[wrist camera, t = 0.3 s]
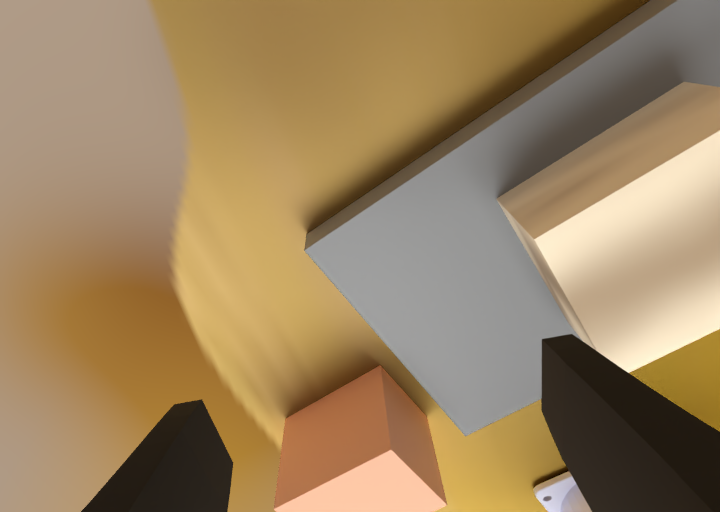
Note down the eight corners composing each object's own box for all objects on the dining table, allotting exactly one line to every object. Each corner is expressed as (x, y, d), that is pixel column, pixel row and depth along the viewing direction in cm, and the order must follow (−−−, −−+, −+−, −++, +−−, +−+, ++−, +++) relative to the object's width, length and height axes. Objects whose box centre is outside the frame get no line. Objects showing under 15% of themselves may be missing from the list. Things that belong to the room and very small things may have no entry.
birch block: (731, 236, 17) (818, 281, 14) (568, 322, 19) (613, 380, 16) (683, 81, 14) (778, 95, 11) (496, 198, 16) (534, 239, 13)
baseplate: (839, 218, 19) (877, 232, 18) (458, 412, 23) (465, 436, 22) (786, -93, 14) (834, -105, 12) (306, 234, 18) (304, 250, 17)
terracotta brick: (426, 415, 23) (447, 505, 19) (336, 461, 25) (336, 555, 20) (379, 363, 22) (390, 449, 17) (285, 417, 23) (273, 509, 19)
